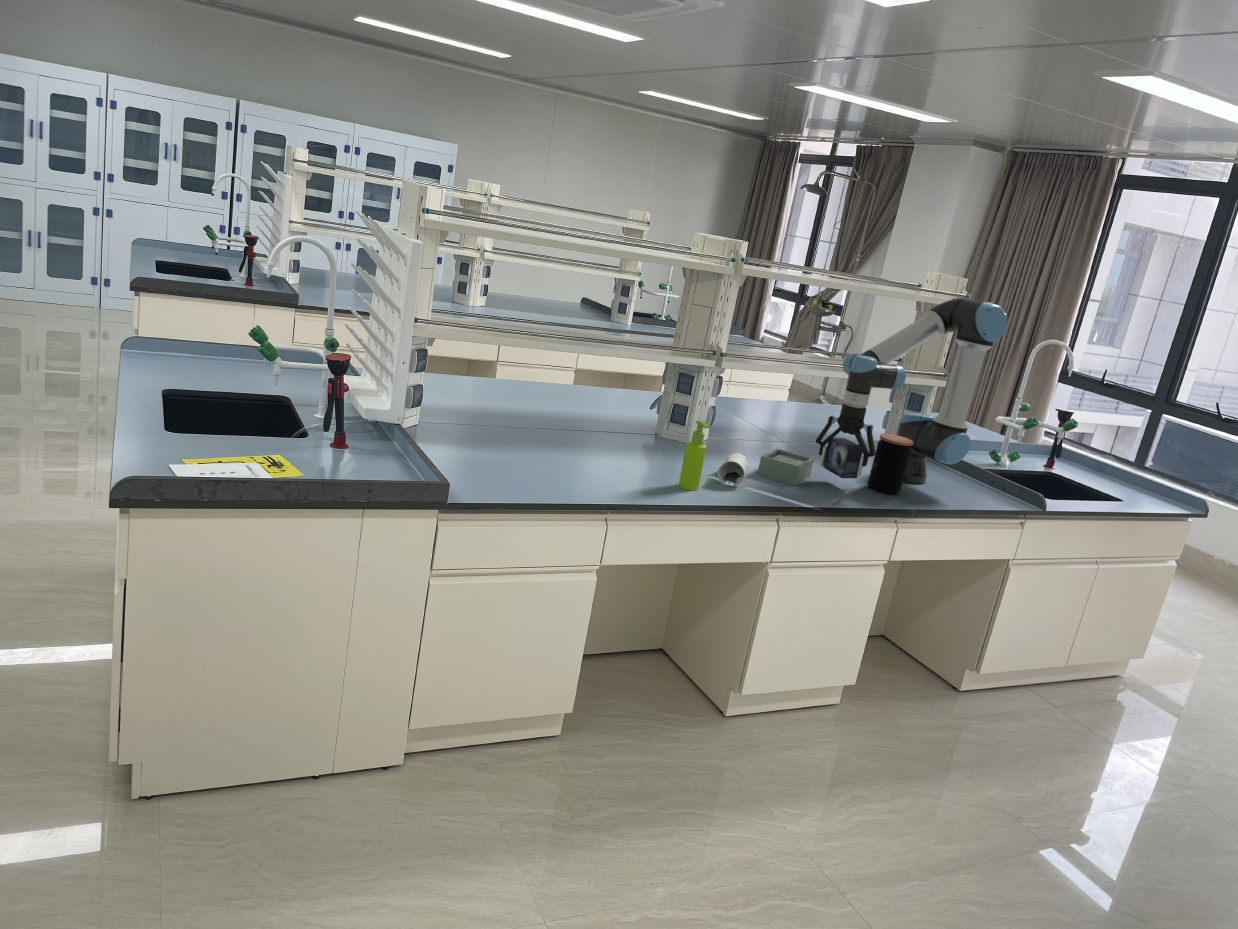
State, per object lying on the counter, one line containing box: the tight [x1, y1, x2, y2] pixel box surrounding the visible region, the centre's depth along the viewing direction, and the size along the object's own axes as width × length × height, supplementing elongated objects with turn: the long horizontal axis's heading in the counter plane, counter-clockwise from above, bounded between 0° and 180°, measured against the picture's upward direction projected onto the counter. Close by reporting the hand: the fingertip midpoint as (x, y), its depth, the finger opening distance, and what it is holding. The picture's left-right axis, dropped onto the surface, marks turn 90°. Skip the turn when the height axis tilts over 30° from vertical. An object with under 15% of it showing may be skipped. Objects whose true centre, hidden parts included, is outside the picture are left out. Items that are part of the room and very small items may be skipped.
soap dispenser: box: [678, 420, 711, 491], centre depth 253 cm, size 6×7×20 cm
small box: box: [822, 437, 863, 479], centre depth 280 cm, size 11×6×10 cm, turn 24°
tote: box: [756, 447, 815, 487], centre depth 283 cm, size 13×16×7 cm
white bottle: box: [716, 452, 750, 487], centre depth 272 cm, size 8×19×8 cm, turn 165°
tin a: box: [775, 454, 805, 464], centre depth 286 cm, size 9×6×5 cm
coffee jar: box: [867, 433, 913, 496], centre depth 287 cm, size 11×11×18 cm
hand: (839, 470), depth 281 cm, fingers closed on small box, 11 cm apart
